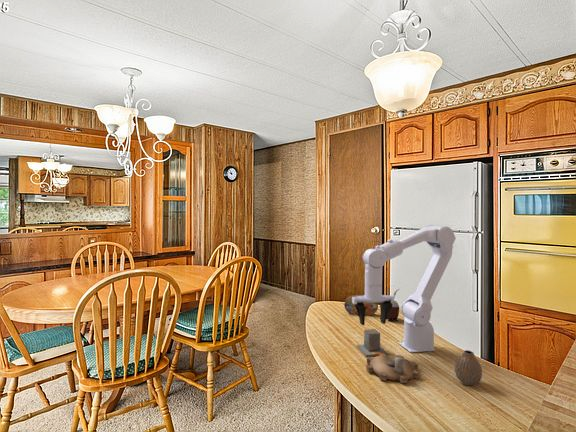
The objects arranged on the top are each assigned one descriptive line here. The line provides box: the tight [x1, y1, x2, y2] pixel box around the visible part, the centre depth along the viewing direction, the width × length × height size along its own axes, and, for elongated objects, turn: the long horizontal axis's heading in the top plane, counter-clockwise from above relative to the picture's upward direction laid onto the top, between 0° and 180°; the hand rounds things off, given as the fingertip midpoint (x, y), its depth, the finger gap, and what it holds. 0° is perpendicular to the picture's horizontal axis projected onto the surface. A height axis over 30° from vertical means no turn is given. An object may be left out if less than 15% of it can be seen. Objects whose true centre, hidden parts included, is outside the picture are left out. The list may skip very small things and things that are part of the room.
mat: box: [356, 344, 390, 358], centre depth 116 cm, size 8×8×1 cm
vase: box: [454, 349, 483, 387], centre depth 96 cm, size 7×7×9 cm
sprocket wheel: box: [366, 354, 421, 384], centre depth 102 cm, size 16×16×5 cm
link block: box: [363, 328, 381, 352], centre depth 116 cm, size 4×4×6 cm
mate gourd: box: [386, 288, 400, 323], centre depth 147 cm, size 8×8×15 cm
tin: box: [343, 295, 379, 316], centre depth 155 cm, size 15×3×8 cm, turn 81°
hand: (372, 323), depth 116 cm, fingers open, 7 cm apart
